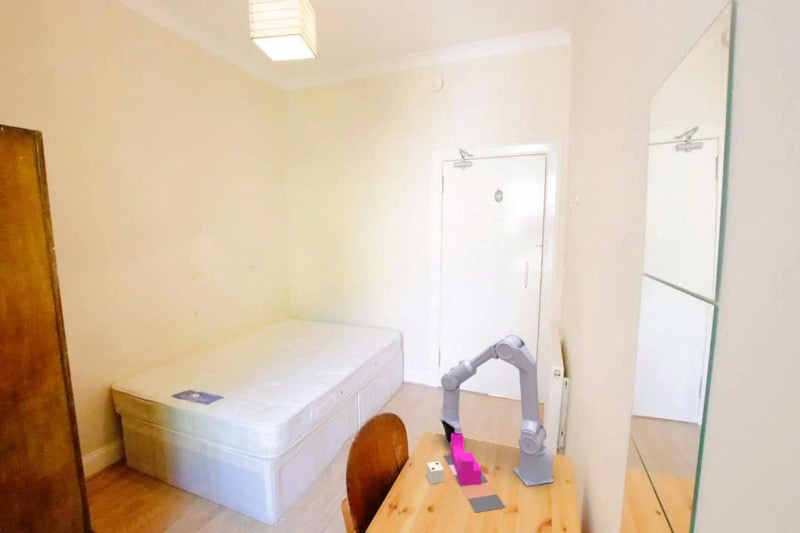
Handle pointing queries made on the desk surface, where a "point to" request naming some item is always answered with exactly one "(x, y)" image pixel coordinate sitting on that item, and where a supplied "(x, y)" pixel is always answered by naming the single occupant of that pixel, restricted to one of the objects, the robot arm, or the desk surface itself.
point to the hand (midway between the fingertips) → (449, 441)
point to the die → (435, 472)
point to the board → (478, 492)
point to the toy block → (464, 462)
